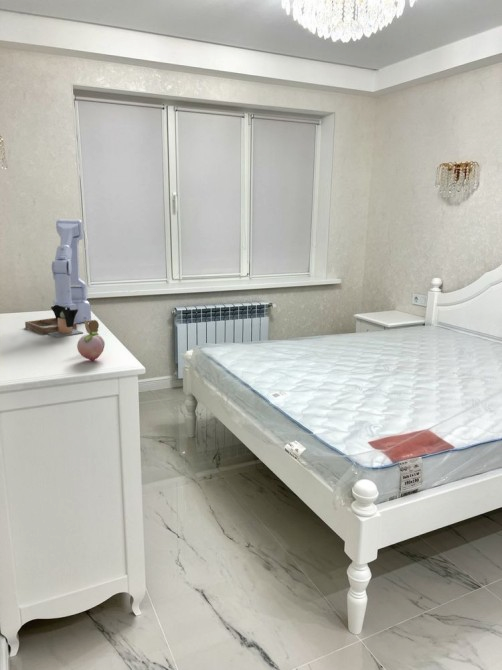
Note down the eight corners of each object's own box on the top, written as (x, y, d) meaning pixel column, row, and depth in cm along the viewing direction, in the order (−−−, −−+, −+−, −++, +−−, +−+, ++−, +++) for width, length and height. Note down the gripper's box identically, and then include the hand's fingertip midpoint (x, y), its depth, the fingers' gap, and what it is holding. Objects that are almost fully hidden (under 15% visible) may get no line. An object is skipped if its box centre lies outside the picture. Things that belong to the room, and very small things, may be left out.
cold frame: (58, 323, 216) (57, 317, 215) (76, 329, 205) (76, 323, 205) (25, 327, 206) (25, 321, 205) (43, 334, 195) (42, 328, 195)
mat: (74, 330, 204) (74, 329, 204) (83, 333, 199) (83, 332, 199) (48, 334, 196) (48, 333, 196) (56, 337, 191) (56, 336, 191)
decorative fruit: (82, 356, 167) (80, 327, 165) (107, 356, 168) (105, 328, 166) (74, 365, 158) (72, 334, 156) (100, 365, 159) (99, 334, 157)
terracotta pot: (68, 330, 201) (67, 309, 199) (74, 332, 197) (73, 311, 195) (56, 332, 197) (54, 310, 195) (62, 334, 194) (61, 312, 192)
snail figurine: (80, 349, 176) (78, 316, 173) (93, 345, 181) (92, 313, 179) (91, 351, 173) (90, 318, 171) (105, 347, 179) (103, 315, 176)
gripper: (44, 289, 195) (46, 323, 198) (62, 294, 186) (64, 329, 189) (61, 288, 200) (63, 321, 204) (79, 292, 191) (81, 327, 194)
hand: (65, 325), depth 197 cm, fingers open, 7 cm apart
